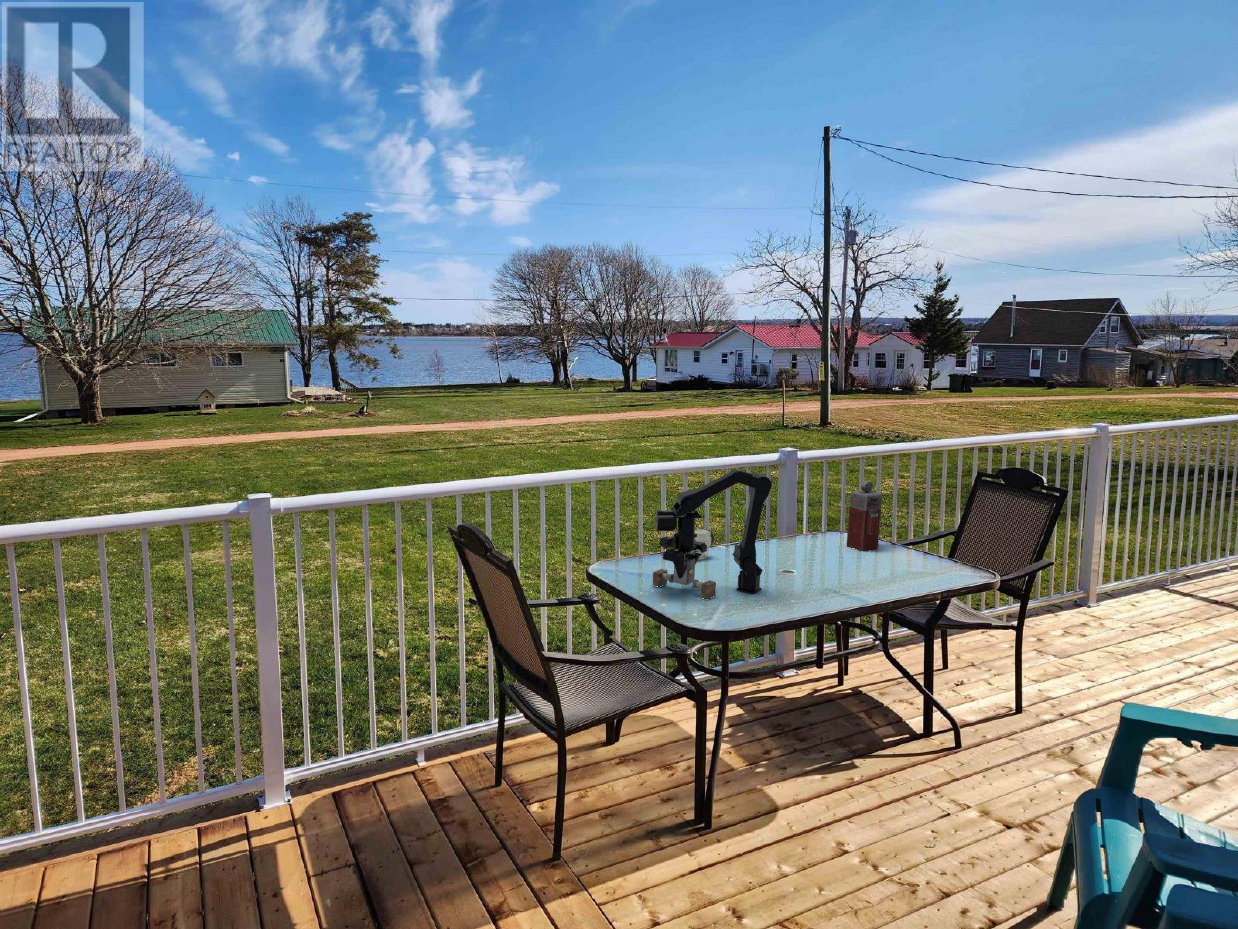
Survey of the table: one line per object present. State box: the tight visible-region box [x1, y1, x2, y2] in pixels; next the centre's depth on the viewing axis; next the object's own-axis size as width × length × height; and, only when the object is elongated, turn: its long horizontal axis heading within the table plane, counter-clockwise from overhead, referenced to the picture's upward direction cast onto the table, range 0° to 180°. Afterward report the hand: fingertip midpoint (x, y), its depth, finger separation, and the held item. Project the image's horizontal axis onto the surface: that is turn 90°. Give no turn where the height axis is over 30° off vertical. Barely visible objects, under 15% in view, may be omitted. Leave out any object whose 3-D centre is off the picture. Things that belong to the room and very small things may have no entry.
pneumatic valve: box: [694, 528, 715, 561], centre depth 294 cm, size 6×12×12 cm, turn 122°
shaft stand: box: [652, 568, 717, 600], centre depth 256 cm, size 22×5×5 cm, turn 53°
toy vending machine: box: [846, 480, 883, 552], centre depth 314 cm, size 9×11×28 cm
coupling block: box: [673, 557, 696, 586], centre depth 255 cm, size 6×5×8 cm
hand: (684, 576), depth 256 cm, fingers closed on coupling block, 5 cm apart
